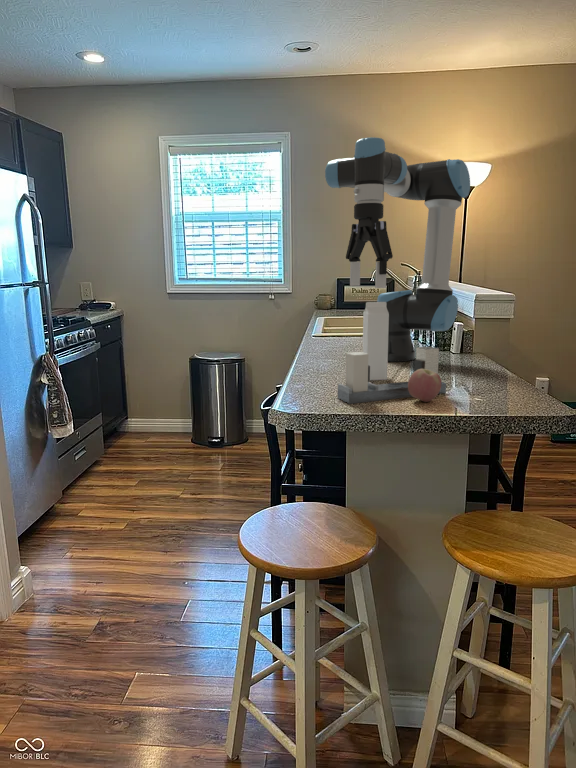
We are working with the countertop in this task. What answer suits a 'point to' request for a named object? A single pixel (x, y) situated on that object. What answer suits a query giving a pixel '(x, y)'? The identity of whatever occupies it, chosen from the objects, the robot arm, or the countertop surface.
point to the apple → (424, 384)
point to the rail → (424, 360)
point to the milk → (376, 338)
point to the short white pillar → (357, 371)
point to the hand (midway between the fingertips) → (367, 286)
